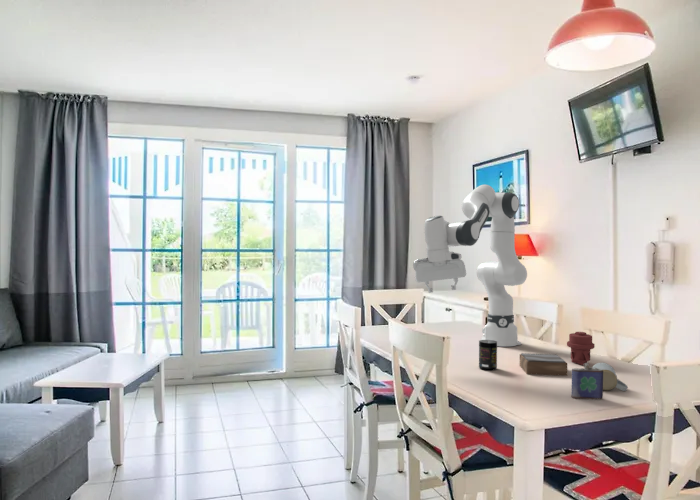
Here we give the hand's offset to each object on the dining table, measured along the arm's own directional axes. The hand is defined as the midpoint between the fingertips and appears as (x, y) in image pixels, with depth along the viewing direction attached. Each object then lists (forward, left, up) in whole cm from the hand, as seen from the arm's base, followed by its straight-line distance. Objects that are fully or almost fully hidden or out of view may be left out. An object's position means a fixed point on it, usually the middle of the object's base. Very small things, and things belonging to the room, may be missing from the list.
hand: (442, 291), depth 201 cm
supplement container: (+8, +17, -29) cm, 34 cm away
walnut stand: (+8, +37, -29) cm, 47 cm away
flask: (+41, +42, -29) cm, 65 cm away
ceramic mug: (+29, +52, -29) cm, 67 cm away
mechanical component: (-6, +55, -29) cm, 62 cm away
